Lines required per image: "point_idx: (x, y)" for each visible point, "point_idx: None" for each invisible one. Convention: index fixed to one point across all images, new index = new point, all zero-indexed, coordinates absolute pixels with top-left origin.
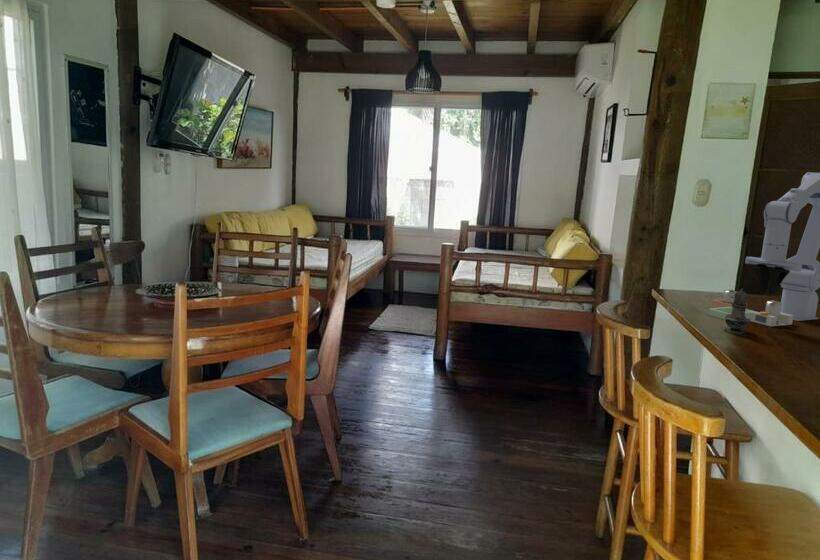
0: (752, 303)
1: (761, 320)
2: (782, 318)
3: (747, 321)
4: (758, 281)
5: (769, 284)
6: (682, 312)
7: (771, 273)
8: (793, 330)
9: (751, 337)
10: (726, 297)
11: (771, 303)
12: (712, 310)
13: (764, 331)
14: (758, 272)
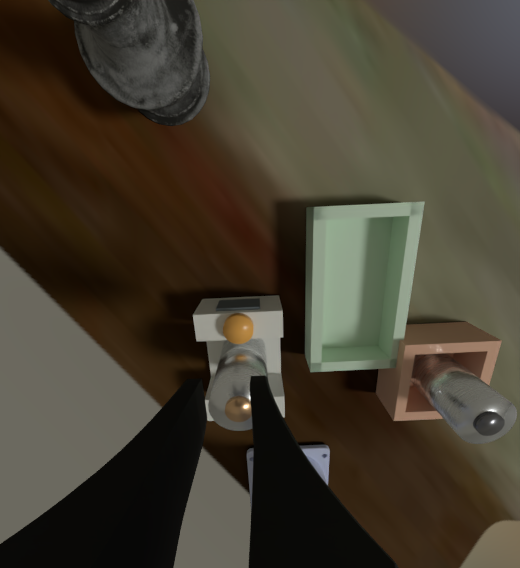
0: (450, 511)
1: (233, 301)
2: None
3: (76, 37)
4: (282, 422)
5: (177, 422)
6: (491, 138)
7: (66, 552)
8: (164, 345)
9: (79, 64)
10: (464, 376)
11: (230, 381)
12: (396, 203)
13: (161, 226)
14: (296, 520)
